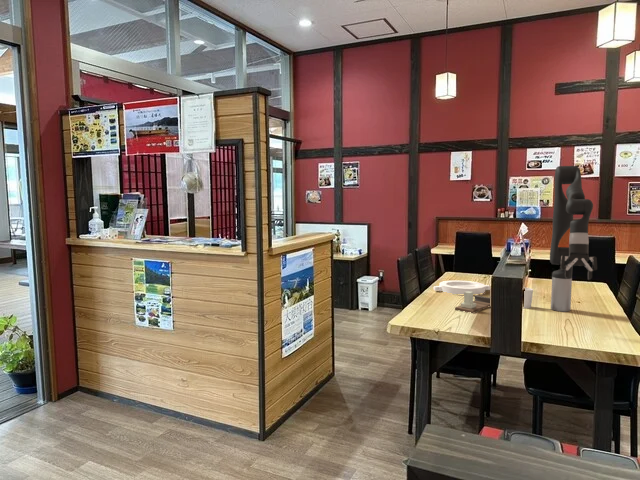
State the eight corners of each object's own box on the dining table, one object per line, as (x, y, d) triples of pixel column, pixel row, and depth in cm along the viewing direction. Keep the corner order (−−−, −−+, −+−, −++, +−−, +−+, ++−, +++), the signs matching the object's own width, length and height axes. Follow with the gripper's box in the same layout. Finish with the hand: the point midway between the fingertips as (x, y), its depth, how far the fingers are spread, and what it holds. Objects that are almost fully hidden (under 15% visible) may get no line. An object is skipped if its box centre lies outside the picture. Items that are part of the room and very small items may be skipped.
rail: (476, 302, 252) (476, 295, 252) (493, 305, 245) (493, 298, 244) (454, 309, 235) (455, 302, 235) (472, 313, 228) (472, 305, 228)
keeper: (465, 305, 239) (465, 290, 238) (476, 307, 235) (476, 292, 234) (460, 306, 235) (461, 291, 235) (471, 308, 231) (471, 293, 230)
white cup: (517, 304, 247) (517, 286, 246) (532, 306, 243) (533, 288, 242) (515, 307, 240) (516, 289, 239) (531, 309, 236) (532, 290, 235)
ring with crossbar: (491, 291, 286) (492, 283, 285) (474, 298, 265) (474, 290, 264) (450, 285, 304) (450, 278, 304) (431, 292, 283) (431, 284, 283)
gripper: (594, 244, 201) (593, 280, 200) (559, 243, 205) (558, 278, 204) (599, 243, 194) (598, 280, 193) (562, 242, 198) (562, 278, 197)
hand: (578, 279), depth 199 cm, fingers open, 8 cm apart
